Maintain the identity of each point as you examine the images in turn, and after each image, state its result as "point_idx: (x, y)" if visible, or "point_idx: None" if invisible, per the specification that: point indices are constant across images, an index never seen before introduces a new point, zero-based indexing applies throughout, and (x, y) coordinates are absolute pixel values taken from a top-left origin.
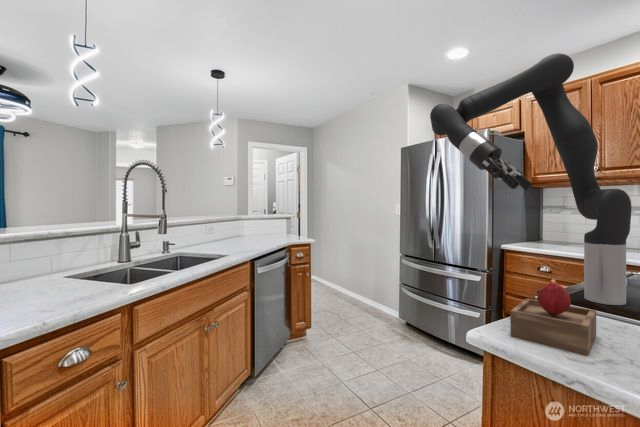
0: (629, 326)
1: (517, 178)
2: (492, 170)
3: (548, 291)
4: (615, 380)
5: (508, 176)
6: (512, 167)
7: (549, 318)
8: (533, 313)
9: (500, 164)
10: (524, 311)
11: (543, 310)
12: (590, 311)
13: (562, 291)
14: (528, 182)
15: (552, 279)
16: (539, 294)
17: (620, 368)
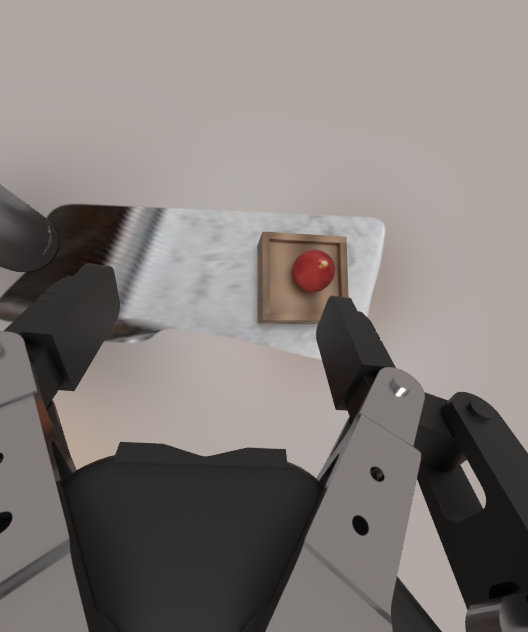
0: (180, 213)
1: (51, 379)
2: (465, 523)
3: (334, 271)
4: (371, 228)
5: (383, 362)
6: (46, 453)
7: (346, 274)
8: (311, 300)
9: (392, 540)
10: (310, 312)
11: (285, 293)
12: (275, 237)
13: (326, 254)
14: (100, 285)
15: (323, 263)
16: (326, 286)
17: (341, 225)
